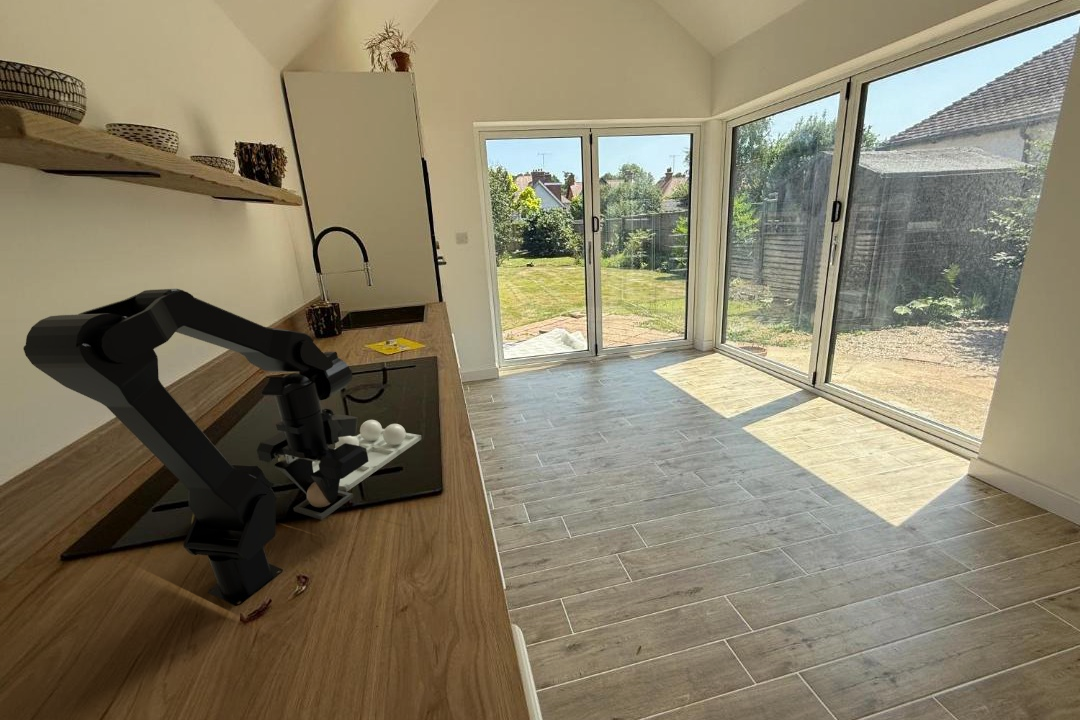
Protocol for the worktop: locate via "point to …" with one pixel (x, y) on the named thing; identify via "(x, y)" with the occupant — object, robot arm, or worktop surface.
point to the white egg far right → (370, 430)
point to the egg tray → (373, 458)
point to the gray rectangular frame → (321, 516)
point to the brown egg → (316, 496)
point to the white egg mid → (347, 441)
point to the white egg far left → (394, 434)
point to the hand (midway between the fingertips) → (322, 499)
